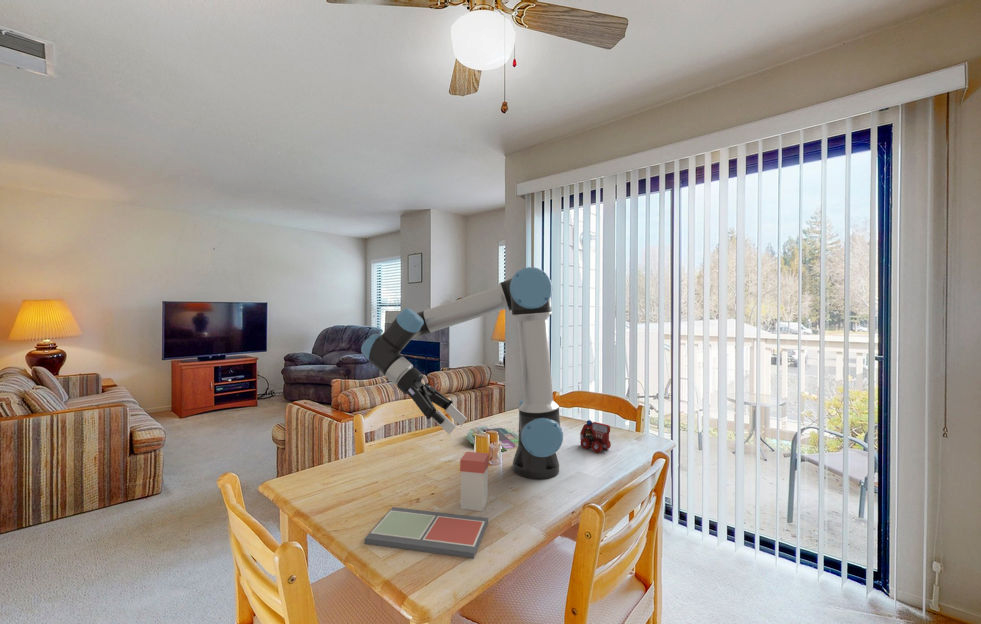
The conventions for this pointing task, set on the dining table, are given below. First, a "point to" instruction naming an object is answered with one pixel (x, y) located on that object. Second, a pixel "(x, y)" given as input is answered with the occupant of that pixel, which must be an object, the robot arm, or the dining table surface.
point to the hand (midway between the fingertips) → (458, 426)
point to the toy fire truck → (595, 436)
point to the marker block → (474, 480)
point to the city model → (505, 435)
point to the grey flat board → (429, 532)
